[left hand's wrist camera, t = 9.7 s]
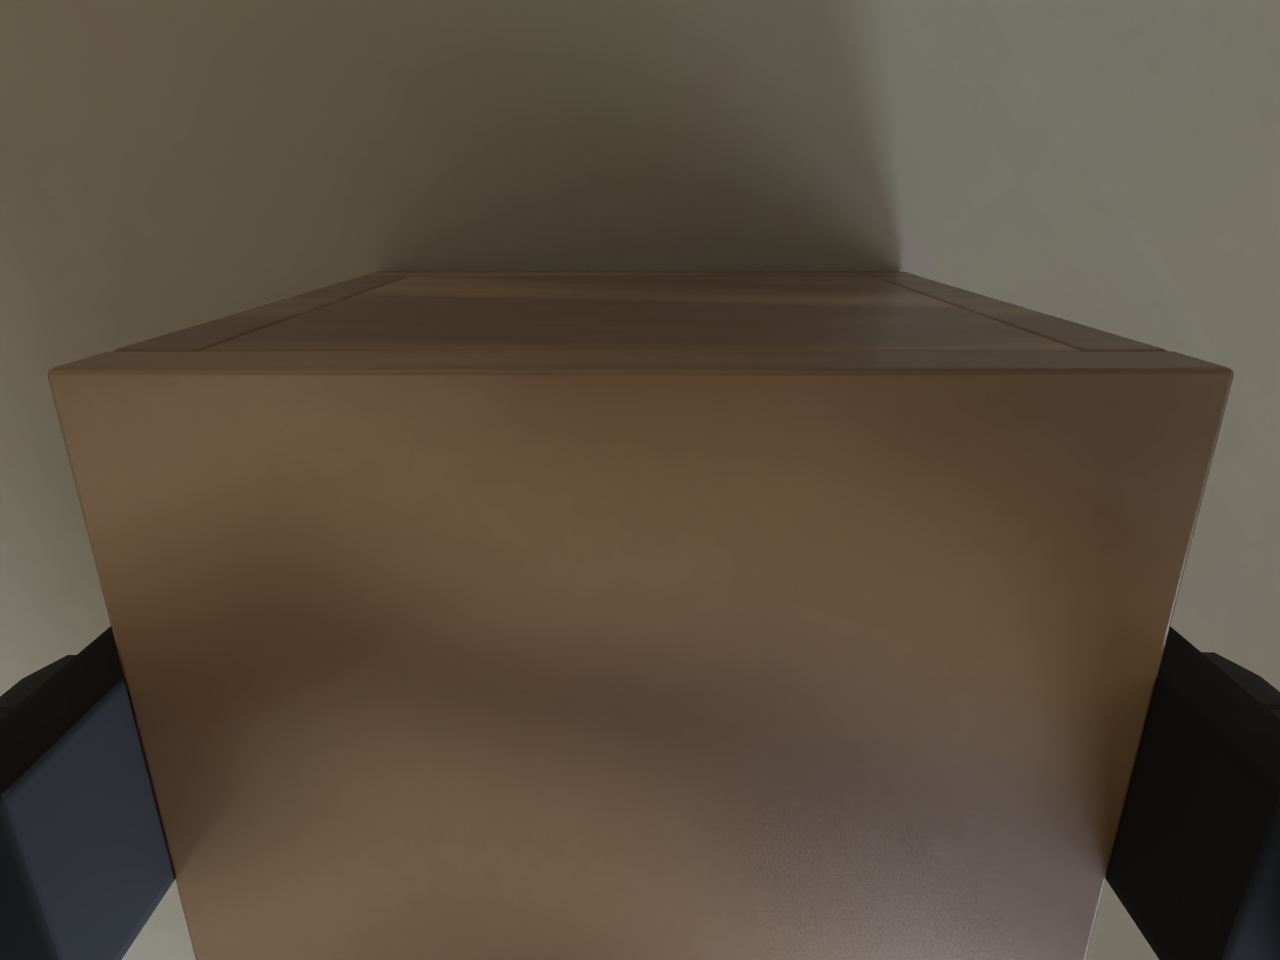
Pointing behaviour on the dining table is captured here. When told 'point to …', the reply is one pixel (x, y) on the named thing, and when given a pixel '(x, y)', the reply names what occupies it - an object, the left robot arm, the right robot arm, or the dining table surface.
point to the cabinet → (640, 611)
